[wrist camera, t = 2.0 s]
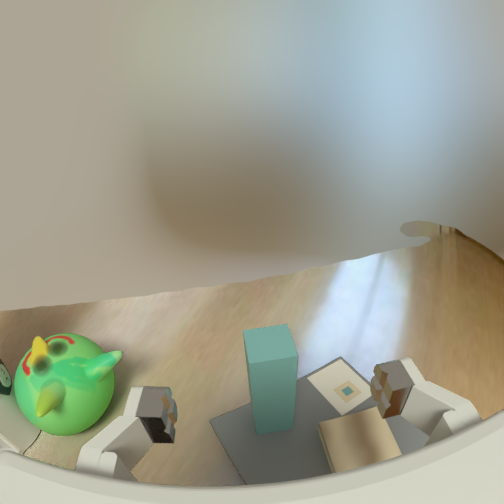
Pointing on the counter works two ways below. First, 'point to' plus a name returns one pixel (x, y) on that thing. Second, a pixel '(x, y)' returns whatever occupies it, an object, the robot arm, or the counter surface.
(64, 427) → the toy bird
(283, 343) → the column
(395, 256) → the counter surface
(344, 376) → the base plate
